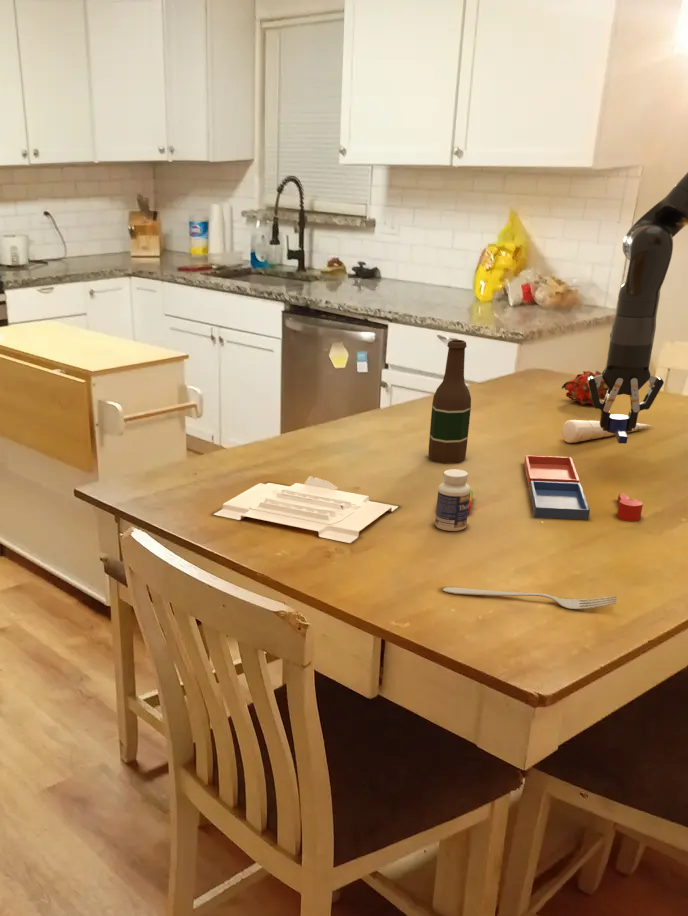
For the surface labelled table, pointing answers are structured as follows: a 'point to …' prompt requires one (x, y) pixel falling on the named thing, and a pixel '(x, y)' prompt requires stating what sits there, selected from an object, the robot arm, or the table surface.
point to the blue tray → (558, 500)
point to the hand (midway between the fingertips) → (616, 429)
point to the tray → (307, 508)
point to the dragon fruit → (584, 388)
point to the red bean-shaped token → (629, 508)
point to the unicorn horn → (588, 430)
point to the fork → (563, 602)
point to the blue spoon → (619, 427)
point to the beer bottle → (451, 410)
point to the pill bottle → (453, 501)
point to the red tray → (550, 469)
